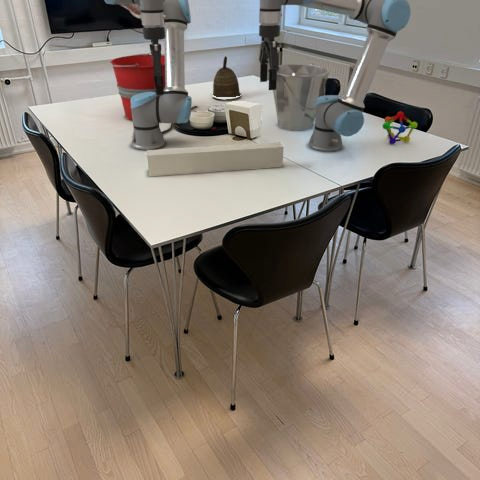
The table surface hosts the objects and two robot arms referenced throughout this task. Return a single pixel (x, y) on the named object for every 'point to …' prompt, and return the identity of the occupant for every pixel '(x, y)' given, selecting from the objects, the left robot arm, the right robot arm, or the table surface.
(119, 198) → the table surface
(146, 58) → the bucket
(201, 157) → the beam
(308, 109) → the bucket
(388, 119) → the educational toy
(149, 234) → the table surface
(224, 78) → the bell
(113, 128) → the table surface
